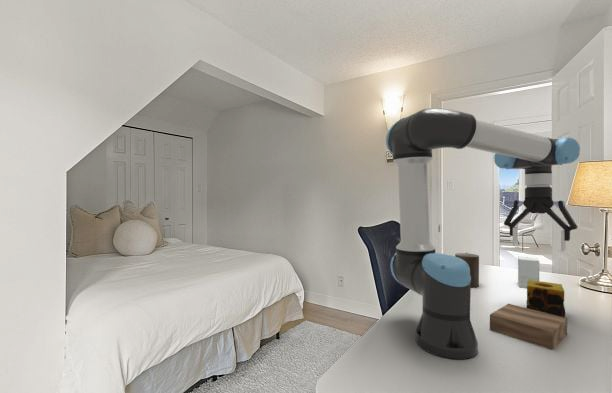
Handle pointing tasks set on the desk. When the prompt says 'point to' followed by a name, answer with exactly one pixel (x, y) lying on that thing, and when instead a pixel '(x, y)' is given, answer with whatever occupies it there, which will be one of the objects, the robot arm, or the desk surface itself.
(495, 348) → the desk surface
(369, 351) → the desk surface
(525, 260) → the supplement box
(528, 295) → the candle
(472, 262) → the pillar candle
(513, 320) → the walnut block
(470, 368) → the desk surface
